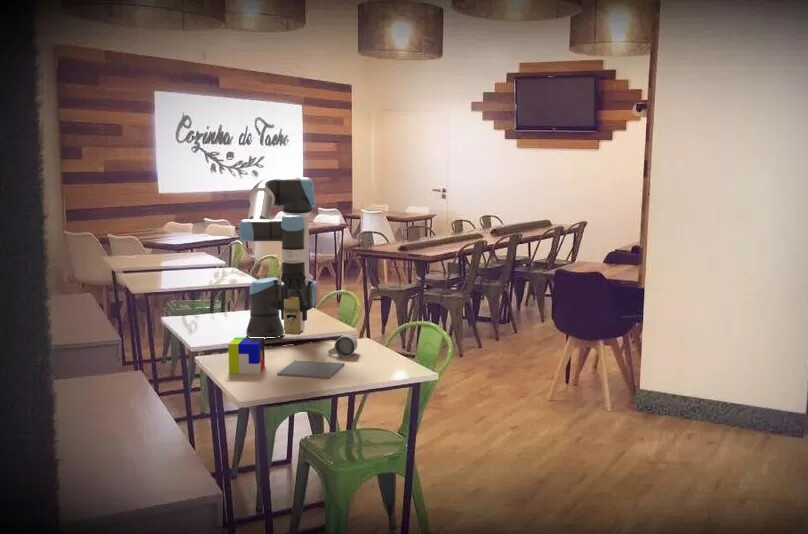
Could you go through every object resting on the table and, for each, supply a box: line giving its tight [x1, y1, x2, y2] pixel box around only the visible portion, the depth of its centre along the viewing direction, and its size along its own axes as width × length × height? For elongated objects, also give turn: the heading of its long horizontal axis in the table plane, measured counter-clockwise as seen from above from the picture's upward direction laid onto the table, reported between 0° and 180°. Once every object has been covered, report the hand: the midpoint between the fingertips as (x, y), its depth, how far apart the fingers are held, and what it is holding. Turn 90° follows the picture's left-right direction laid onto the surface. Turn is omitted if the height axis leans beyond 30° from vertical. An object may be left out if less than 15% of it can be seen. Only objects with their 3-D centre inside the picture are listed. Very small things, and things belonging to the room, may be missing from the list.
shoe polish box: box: [283, 297, 304, 336], centre depth 265 cm, size 5×5×12 cm
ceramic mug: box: [327, 333, 358, 358], centre depth 288 cm, size 11×8×8 cm
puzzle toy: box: [227, 336, 266, 374], centre depth 267 cm, size 10×10×10 cm
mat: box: [276, 359, 345, 379], centre depth 267 cm, size 18×18×1 cm
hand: (294, 329), depth 266 cm, fingers closed on shoe polish box, 5 cm apart
